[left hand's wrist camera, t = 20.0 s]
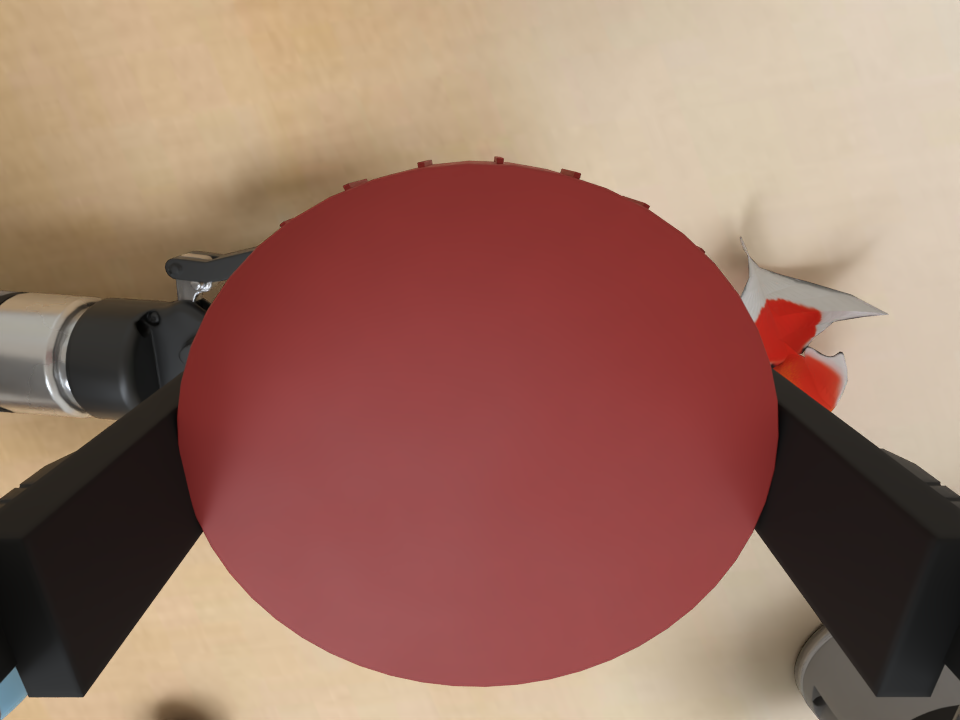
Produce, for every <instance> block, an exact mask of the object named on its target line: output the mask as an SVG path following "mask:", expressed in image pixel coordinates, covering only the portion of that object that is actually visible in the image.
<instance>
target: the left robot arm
mask: <svg viewBox="0 0 960 720" xmlns="http://www.w3.org/2000/svg"><path fill="white" fill-rule="evenodd" d="M771 369H772V374H773V379H774V384H775V390H776V395H777V400H778V429H779V438H778V446H777V454H776V463H775V470H774V474H773V478H772V481H771V485H770V489H769V492H768V496H767V499H766V503H765V505H764V507H763V510H762V512H761V514H760V517H759V519H758V521H757V524H756V526H755V528H754V529H755V530H756V532H757V533H758V534H759V536H760V537H761V538H762V540H763V541H764V543H765V544H766V545H767V547H768V548H769V549H770V551H771V552H772V554H773V555H774V556H775V558H776V559H777V561H778V562H779V563H780V565H781V566H782V567H783V569H784V570H785V572H786V573H787V574H788V576H789V577H790V579H791V580H792V581H793V583H794V584H795V585H796V587H797V588H798V590H799V591H800V592H801V594H802V595H803V597H804V598H805V599H806V601H807V602H808V603H809V605H810V606H811V608H812V609H813V610H814V612H815V613H816V614H817V616H818V617H819V619H820V620H821V621H822V623H823V624H824V625H823V626H822V627H820V628H819V629H818V630H817V631H816V632H815V633H814V634H813V635H812V636H811V637H810V638H809V639H808V641H807V642H806V643H805V645H804V646H803V648H802V649H801V651H800V653H799V656H798V658H797V661H796V665H795V680H796V684H797V687H798V689H799V691H800V693H801V694H802V696H803V698H804V699H805V701H806V703H807V704H808V706H809V707H810V708H811V710H812V711H813V712H814V714H815V715H816V716H817V717H818V719H819V720H960V496H959V495H957V494H956V493H955V492H953V491H952V490H951V489H949V488H948V487H946V486H941V485H940V482H939V481H938V480H937V479H935V478H934V477H933V476H931V475H930V474H928V473H927V472H926V471H924V470H923V469H921V468H920V467H919V466H917V465H916V464H914V463H912V462H910V461H908V460H906V459H904V458H902V457H899V456H897V455H895V454H893V453H891V452H889V451H887V450H885V449H880V448H878V447H877V446H876V445H874V444H873V443H872V442H870V441H869V440H868V439H866V438H865V437H864V436H862V435H861V434H860V433H858V432H857V431H856V430H854V429H853V428H852V427H850V426H849V425H848V424H846V423H845V422H844V421H842V420H841V419H840V418H838V417H837V416H836V415H834V414H833V413H832V412H830V411H829V410H828V409H826V408H825V407H824V406H822V405H821V404H820V403H818V402H817V401H816V400H814V399H813V398H812V397H810V396H809V395H808V394H806V393H805V392H804V391H802V390H801V389H800V388H798V387H797V386H796V385H794V384H793V383H792V382H790V381H789V380H788V379H786V378H785V377H783V376H782V375H781V374H779V373H778V372H777V371H775V370H774V369H773V368H771ZM183 373H184V371H183V372H181V373H180V374H179V375H177V376H176V377H175V378H173V379H172V380H171V381H169V382H168V383H167V384H165V385H164V386H163V387H161V388H160V389H159V390H157V391H156V392H155V393H153V394H152V395H151V396H149V397H148V398H147V399H145V400H144V401H143V402H141V403H140V404H139V405H137V406H136V407H135V408H133V409H132V410H131V411H129V412H128V413H127V414H125V415H124V416H123V417H121V418H120V419H119V420H117V421H116V422H115V423H113V424H112V425H111V426H109V427H108V428H107V429H105V430H104V431H103V432H101V433H100V434H99V435H97V436H96V437H95V438H93V439H92V440H91V441H89V442H88V443H87V444H85V445H84V446H83V447H81V448H80V449H79V450H77V451H76V452H73V453H71V454H69V455H67V456H65V457H63V458H61V459H59V460H57V461H55V462H53V463H50V464H48V465H46V466H44V467H43V468H42V469H40V470H39V471H38V472H36V473H35V474H33V475H32V476H31V477H29V478H28V479H27V480H25V481H24V482H22V483H21V484H20V488H14V489H13V490H11V491H10V492H9V493H7V494H6V495H5V496H3V497H2V498H0V683H1V682H2V681H3V680H4V679H5V678H6V677H7V675H8V674H9V673H10V672H11V671H12V670H13V669H14V668H15V667H16V669H17V671H18V674H19V676H20V678H21V680H22V683H23V685H24V687H25V689H26V692H27V694H28V696H29V697H84V696H85V694H86V693H87V691H88V690H89V689H90V687H91V686H92V685H93V683H94V682H95V680H96V679H97V678H98V676H99V675H100V673H101V672H102V671H103V669H104V668H105V667H106V665H107V664H108V662H109V661H110V660H111V658H112V657H113V655H114V654H115V653H116V651H117V650H118V649H119V647H120V646H121V644H122V643H123V642H124V640H125V639H126V637H127V636H128V635H129V633H130V632H131V631H132V629H133V628H134V626H135V625H136V624H137V622H138V621H139V620H140V618H141V617H142V615H143V614H144V613H145V611H146V610H147V608H148V607H149V606H150V604H151V603H152V602H153V600H154V599H155V597H156V596H157V595H158V593H159V592H160V590H161V589H162V588H163V586H164V585H165V584H166V582H167V581H168V579H169V578H170V577H171V575H172V574H173V572H174V571H175V570H176V568H177V567H178V566H179V564H180V563H181V561H182V560H183V559H184V557H185V556H186V555H187V553H188V552H189V550H190V549H191V548H192V546H193V545H194V543H195V542H196V541H197V539H198V538H199V537H200V535H201V534H202V532H203V530H202V528H201V526H200V524H199V522H198V520H197V518H196V516H195V513H194V509H193V505H192V502H191V498H190V493H189V489H188V485H187V481H186V476H185V472H184V468H183V464H182V460H181V455H180V451H179V445H178V430H177V413H178V404H179V395H180V386H181V380H182V377H183ZM0 718H1V710H0Z"/></svg>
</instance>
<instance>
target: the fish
mask: <svg viewBox="0 0 960 720" xmlns="http://www.w3.org/2000/svg"><path fill="white" fill-rule="evenodd" d="M740 240H741V243H742V246H743V249H744V251H745V252H746V254H747V256H748V262H749V279H748V282H747V284H746V286H745V288H744V291H743V293H742V295H741V299H742V301H743V303H744V305H745V306H746V308H747V310H748V312H749V314H750V316H751V317H752V319H753V321H754V323H755V325H756V326H757V328H758V330H759V333H760V336H761V339H762V342H763V344H764V347H765V350H766V353H767V356H768V358H769V361H770V364H771V368H773V369H774V370H775V371H777V372H778V373H779V374H781V375H782V376H783V377H785V378H786V379H788V380H789V381H790V382H792V383H793V384H794V385H796V386H797V387H798V388H800V389H801V390H802V391H804V392H805V393H806V394H808V395H809V396H810V397H812V398H813V399H814V400H816V401H817V402H818V403H820V404H821V405H822V406H824V407H825V408H826V409H828V410H829V411H830V412H831V411H832V410H833V409H834V408H835V406H836V405H837V403H838V402H839V400H840V398H841V396H842V394H843V392H844V389H845V386H846V384H847V381H848V377H847V366H846V362H845V358H844V354H843V352H839V353H838V354H836V355H834V356H831V357H830V356H825V355H823V354H821V353H820V352H818V351H816V350H815V349H813V348H811V347H808V345H809V344H810V342H811V341H812V340H813V338H814V337H815V336H817V335H818V334H819V333H821V332H822V331H824V330H825V329H826V328H827V327H828V326H829V325H830V324H832V323H833V322H834V321H841V320H847V319H853V318H859V317H866V316H877V315H888V314H887V313H885V312H883V311H881V310H880V309H878V308H876V307H874V306H872V305H870V304H868V303H866V302H864V301H862V300H860V299H859V298H857V297H855V296H853V295H851V294H847V293H844V292H840V291H837V290H834V289H830V288H827V287H824V286H820V285H817V284H814V283H810V282H807V281H803V280H799V279H795V278H791V277H787V276H784V275H780V274H777V273H774V272H771V271H768V270H766V269H763V268H760V267H759V266H758V265H757V264H756V263H755V262H754V261H753V260H752V259H751V258H750V256H749V254H748V252H747V249H746V246H745V244H744V242H743V240H742V237H740ZM804 350H805V357H803V356H801V355H798V354H802V353H803V352H804Z"/></svg>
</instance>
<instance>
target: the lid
mask: <svg viewBox="0 0 960 720" xmlns="http://www.w3.org/2000/svg"><path fill="white" fill-rule="evenodd" d="M417 164H418V168H415V169H411V170H407V171H403V172H399V173H395V174H391V175H387V176H384V177H380V178H377V179H373V180H371V181H367V179H364V180H360V181H356V182H352V183H348V184H346V185H344V186H343V187H344V189H345V191H343V192H341V193H338V194H336V195H334V196H331V197H329V198H327V199H325V200H324V201H322V202H320V203H319V204H317V205H315V206H314V207H312V208H310V209H308V210H307V211H305V212H303V213H302V214H300V215H298V216H296V217H295V218H292V219H289V220H287V221H284V222H283V223H281V224H280V226H281V228H280V229H279V230H277V231H276V232H275V233H274V234H273V235H271V236H270V237H269V238H268V239H266V240H265V241H264V242H263V243H261V244H260V245H259V246H258V247H257V248H256V249H255V250H254V251H253V252H252V253H251V254H250V255H249V256H248V257H247V258H246V260H245V261H244V262H243V263H242V264H241V265H240V266H239V267H238V268H237V269H236V271H234V272H233V274H232V275H231V276H230V277H229V278H228V280H227V281H226V283H225V284H224V286H223V287H222V289H221V290H220V292H219V293H218V295H217V296H216V298H215V299H214V301H213V302H212V304H211V306H210V307H209V309H208V310H207V312H206V314H205V316H204V318H203V321H202V323H201V325H200V327H199V329H198V332H197V334H196V336H195V338H194V340H193V342H192V345H191V347H190V351H189V355H188V358H187V362H186V366H185V369H184V373H183V377H182V380H181V386H180V395H179V404H178V413H177V430H178V445H179V451H180V455H181V460H182V464H183V468H184V472H185V476H186V481H187V485H188V489H189V493H190V498H191V502H192V505H193V509H194V513H195V516H196V518H197V520H198V522H199V524H200V526H201V528H202V530H203V532H204V534H205V536H206V537H207V539H208V541H209V543H210V545H211V547H212V548H213V550H214V551H215V553H216V554H217V556H218V557H219V559H220V560H221V561H222V563H223V564H224V566H225V567H226V569H227V570H228V572H229V573H230V574H231V575H232V576H233V578H234V579H235V580H236V581H237V582H238V583H239V584H240V585H241V586H242V588H243V589H244V590H245V591H246V592H247V593H248V594H249V595H250V597H251V598H253V599H254V600H255V601H256V602H257V603H258V604H259V605H260V606H262V607H263V608H264V609H265V610H266V611H267V612H268V613H269V614H271V615H272V616H273V617H274V618H275V619H276V620H278V621H279V622H281V623H282V624H284V625H285V626H286V627H288V628H289V629H291V630H292V631H294V632H295V633H296V634H298V635H299V636H301V637H302V638H304V639H306V640H307V641H309V642H311V643H313V644H315V645H316V646H318V647H320V648H322V649H324V650H325V651H327V652H329V653H331V654H333V655H336V656H338V657H340V658H343V659H345V660H347V661H350V662H352V663H354V664H357V665H359V666H362V667H365V668H368V669H371V670H375V671H378V672H381V673H384V674H387V675H390V676H395V677H400V678H404V679H409V680H414V681H419V682H424V683H433V684H441V685H450V686H477V687H489V686H504V685H518V684H524V683H530V682H536V681H542V680H549V679H553V678H557V677H560V676H564V675H568V674H572V673H576V672H579V671H582V670H585V669H588V668H591V667H593V666H596V665H599V664H601V663H604V662H607V661H610V660H612V659H614V658H616V657H618V656H620V655H622V654H624V653H626V652H628V651H630V650H632V649H634V648H636V647H639V646H640V645H642V644H644V643H645V642H647V641H648V640H650V639H652V638H653V637H655V636H656V635H658V634H660V633H661V632H663V631H664V630H666V629H668V628H669V627H670V626H671V625H673V624H674V623H675V622H676V621H678V620H679V619H680V618H682V617H683V616H684V615H685V614H687V613H688V612H689V611H690V610H692V609H693V608H694V607H695V606H696V605H697V604H698V603H699V602H700V601H701V600H702V599H703V598H704V597H705V596H706V595H707V594H708V593H709V592H710V591H711V590H712V589H713V588H714V587H715V586H716V585H717V584H718V582H719V581H720V580H721V579H722V577H723V576H724V575H725V573H726V572H727V571H728V570H729V568H730V567H731V566H732V565H733V563H734V562H735V561H736V559H737V558H738V556H739V554H740V553H741V551H742V549H743V548H744V546H745V544H746V543H747V541H748V539H749V538H750V536H751V534H752V533H753V530H754V528H755V526H756V524H757V521H758V519H759V517H760V514H761V512H762V510H763V507H764V505H765V503H766V499H767V496H768V492H769V489H770V485H771V481H772V478H773V474H774V470H775V463H776V454H777V446H778V438H779V429H778V400H777V395H776V390H775V384H774V379H773V374H772V369H771V364H770V361H769V358H768V356H767V353H766V350H765V347H764V344H763V342H762V339H761V336H760V333H759V330H758V328H757V326H756V325H755V323H754V321H753V319H752V317H751V316H750V314H749V312H748V310H747V308H746V306H745V305H744V303H743V301H742V299H741V297H740V296H739V294H738V293H737V292H736V290H735V289H734V288H733V286H732V285H731V284H730V283H729V281H728V280H727V279H726V277H725V276H724V275H723V274H722V272H721V271H720V270H719V268H718V267H717V266H716V264H715V263H714V262H713V261H712V260H711V259H710V258H709V257H707V256H706V255H705V254H704V253H705V251H704V250H703V249H702V248H700V247H698V246H696V245H695V244H694V243H693V242H692V241H691V240H690V239H688V238H687V237H686V236H685V235H684V234H683V233H682V232H680V231H679V230H677V229H676V228H674V227H673V226H672V225H670V224H669V223H667V222H666V221H664V220H663V219H662V218H660V217H659V216H657V215H656V214H654V213H653V212H651V211H650V210H649V207H650V206H649V205H647V204H646V203H643V202H640V201H637V200H634V199H631V198H628V197H625V196H621V195H619V194H617V193H615V192H613V191H611V190H609V189H607V188H604V187H601V186H598V185H595V184H592V183H589V182H586V181H583V180H580V176H581V173H578V172H574V171H570V170H566V169H561V172H560V173H558V172H555V171H551V170H548V169H543V168H537V167H532V166H526V165H521V164H515V163H509V162H504V158H502V157H494V162H487V161H462V162H452V163H443V164H433V165H432V160H428V161H423V162H418V163H417Z"/></svg>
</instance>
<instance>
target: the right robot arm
mask: <svg viewBox="0 0 960 720" xmlns="http://www.w3.org/2000/svg"><path fill="white" fill-rule="evenodd" d="M257 247H258V246H257ZM257 247H253V248H249V249H245V250H241V251H237V252H232V253H228V254H217V253H209V252H200V251H192V252H189V253H186V254H184V255H181V256H178V257H175V258H172V259H170V260H168V261H167V262H166V265H165V269H166V272H167V274H168V275H169V276H170V277H172V278H173V279H176V284H177V296H178V300H177V301H174V302H165V301H152V300H137V299H121V298H106V299H101V298H98V297H86V296H73V295H60V294H47V293H34V292H31V293H28V292H11V291H0V412H11V413H23V414H37V415H51V416H65V417H78V418H88V417H96V418H100V419H114V420H119V419H120V418H121V417H123V416H124V415H125V414H127V413H128V412H129V411H131V410H132V409H133V408H135V407H136V406H137V405H139V404H140V403H141V402H143V401H144V400H145V399H147V398H148V397H149V396H151V395H152V394H153V393H155V392H156V391H157V390H159V389H160V388H161V387H163V386H164V385H165V384H167V383H168V382H169V381H171V380H172V379H173V378H175V377H176V376H177V375H179V374H180V373H181V372H183V371H184V369H185V366H186V362H187V358H188V355H189V351H190V347H191V345H192V342H193V340H194V338H195V336H196V334H197V332H198V329H199V327H200V325H201V323H202V321H203V318H204V316H205V314H206V312H207V310H208V309H209V307H210V306H211V303H210V302H208V301H207V300H206V299H204V298H202V294H203V292H207V291H209V290H211V289H213V288H215V287H216V286H217V285H218V283H219V281H223V280H228V278H229V277H230V276H231V275H232V274H233V272H234V271H236V269H237V268H238V267H239V266H240V265H241V264H242V263H243V262H244V261H245V260H246V258H247V257H248V256H249V255H250V254H251V253H252V252H253V251H254V250H255V249H256V248H257ZM27 695H28V694H27V692H26V689H25V687H24V685H23V683H22V680H21V678H20V676H19V674H18V671H17V669H16V667H15V668H14V669H13V670H12V671H11V672H10V673H9V674H8V675H7V677H6V678H5V679H4V680H3V681H2V682H1V683H0V710H1V718H0V720H2V719H3V718H4V717H6V716H7V715H8V714H9V713H10V712H11V711H12V710H13V709H14V708H15V707H16V706H17V705H18V704H19V703H20V702H21V701H22V700H23V699H24V698H25V697H26V696H27Z"/></svg>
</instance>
